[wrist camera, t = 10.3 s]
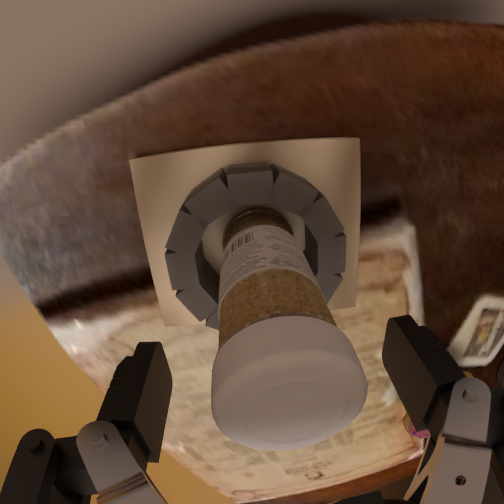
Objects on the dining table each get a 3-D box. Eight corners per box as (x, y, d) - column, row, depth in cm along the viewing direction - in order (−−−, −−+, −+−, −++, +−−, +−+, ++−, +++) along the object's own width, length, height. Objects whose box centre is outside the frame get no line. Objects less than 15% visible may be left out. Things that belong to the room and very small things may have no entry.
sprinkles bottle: (246, 284, 22) (262, 468, 9) (207, 229, 20) (175, 402, 8) (306, 249, 21) (387, 417, 8) (271, 190, 19) (338, 327, 7)
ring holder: (352, 137, 19) (384, 143, 15) (350, 298, 24) (371, 334, 20) (135, 157, 19) (108, 169, 15) (168, 317, 24) (156, 357, 19)
